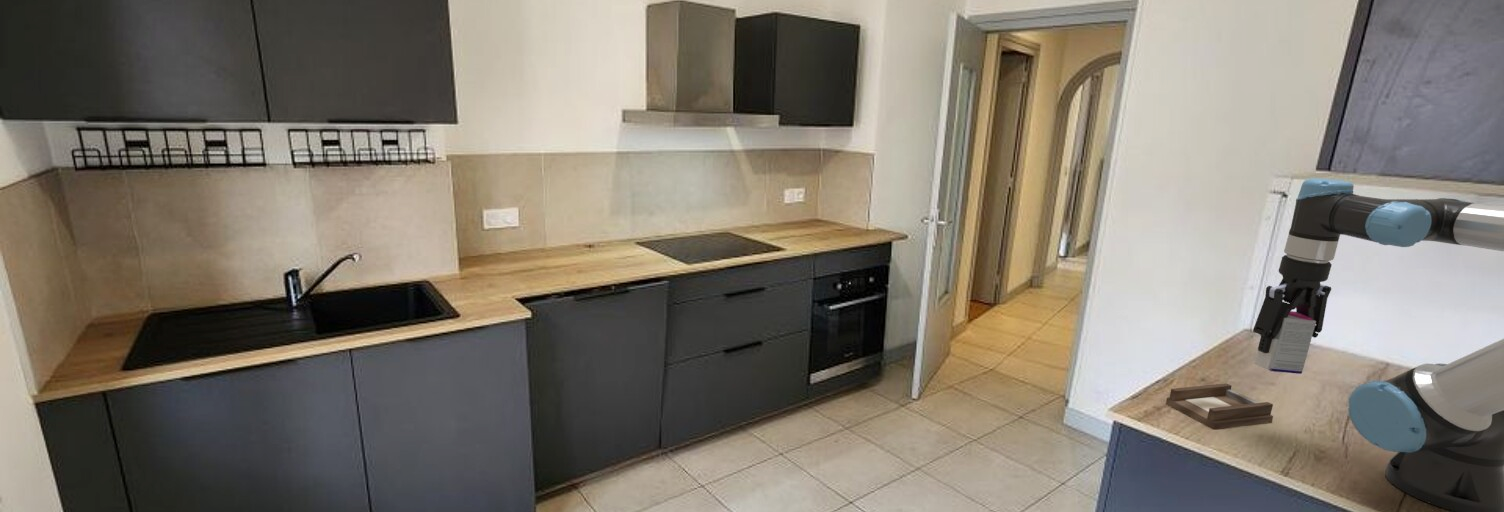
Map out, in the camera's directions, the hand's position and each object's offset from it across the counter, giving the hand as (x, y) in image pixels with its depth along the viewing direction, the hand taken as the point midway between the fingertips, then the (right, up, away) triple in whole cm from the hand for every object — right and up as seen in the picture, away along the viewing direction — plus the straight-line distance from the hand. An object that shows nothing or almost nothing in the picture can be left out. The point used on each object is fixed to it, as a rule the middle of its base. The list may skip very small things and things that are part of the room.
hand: (1278, 365), depth 132 cm
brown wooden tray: (-3, -13, +13) cm, 18 cm away
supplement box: (0, -1, 0) cm, 1 cm away
